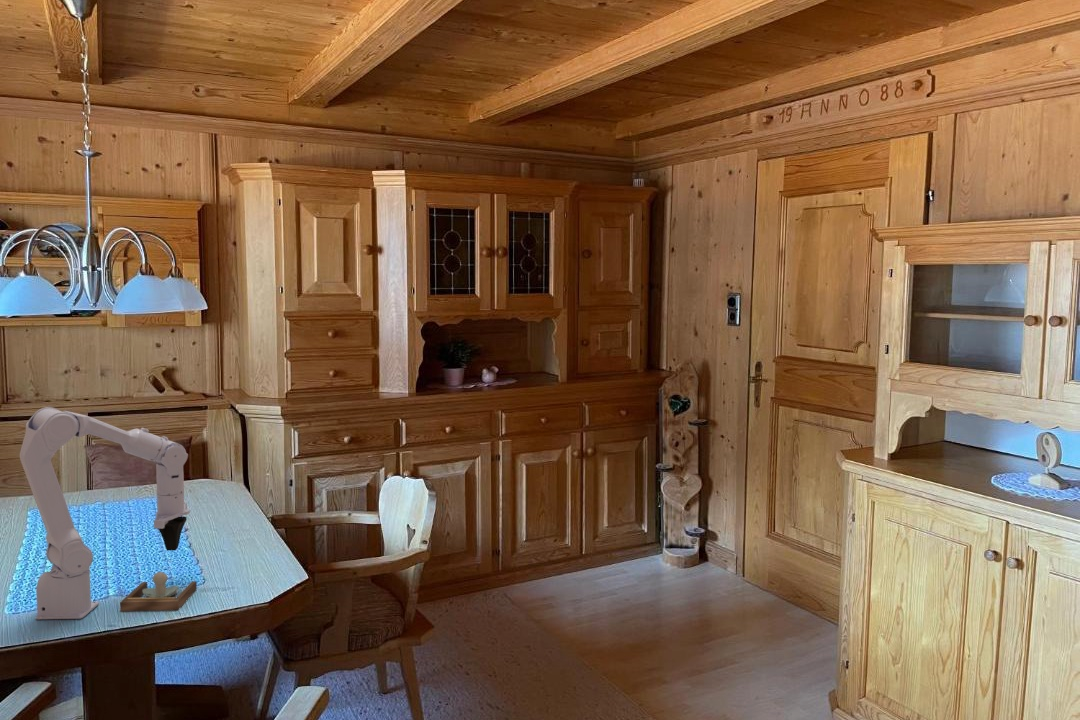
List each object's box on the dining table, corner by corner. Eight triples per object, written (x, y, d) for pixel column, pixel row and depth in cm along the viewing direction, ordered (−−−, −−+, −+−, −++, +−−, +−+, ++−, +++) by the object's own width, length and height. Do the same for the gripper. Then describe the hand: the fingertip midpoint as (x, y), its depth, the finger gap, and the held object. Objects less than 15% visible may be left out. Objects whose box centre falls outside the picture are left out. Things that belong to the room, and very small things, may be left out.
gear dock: (120, 611, 169) (120, 600, 169) (142, 590, 181) (142, 580, 181) (178, 610, 170) (177, 599, 170) (196, 589, 182) (196, 580, 182)
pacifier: (146, 594, 180) (141, 603, 174) (145, 567, 179) (140, 575, 173) (181, 591, 182) (177, 600, 176) (180, 564, 181) (176, 572, 176)
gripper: (176, 501, 175) (177, 560, 177) (199, 484, 190) (200, 539, 191) (143, 501, 175) (145, 560, 176) (169, 484, 189) (170, 539, 191)
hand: (172, 549), depth 184 cm, fingers closed
